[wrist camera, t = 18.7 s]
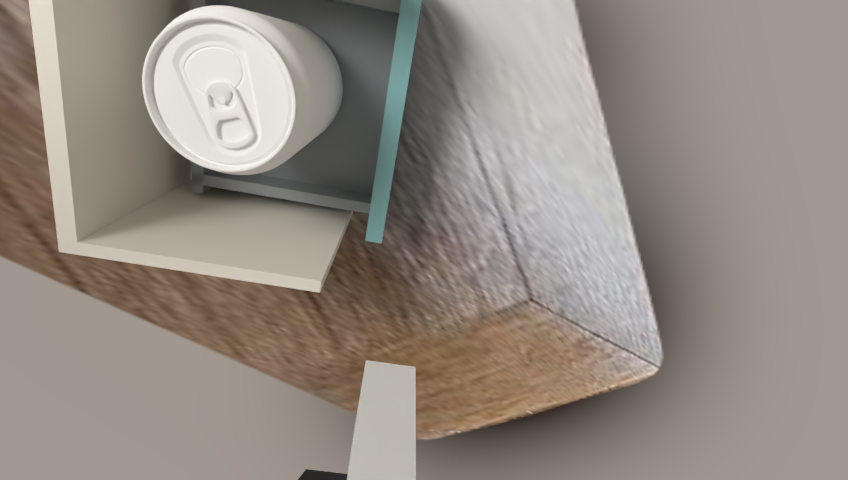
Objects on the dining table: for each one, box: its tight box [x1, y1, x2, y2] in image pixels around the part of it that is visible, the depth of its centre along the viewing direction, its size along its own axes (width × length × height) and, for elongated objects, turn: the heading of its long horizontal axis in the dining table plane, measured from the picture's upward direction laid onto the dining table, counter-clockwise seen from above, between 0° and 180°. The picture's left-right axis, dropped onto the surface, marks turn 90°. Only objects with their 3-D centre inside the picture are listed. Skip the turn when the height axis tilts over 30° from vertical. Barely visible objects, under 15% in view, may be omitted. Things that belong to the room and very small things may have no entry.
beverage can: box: [142, 5, 343, 175], centre depth 27 cm, size 8×8×12 cm
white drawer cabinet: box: [29, 0, 353, 293], centre depth 28 cm, size 14×18×14 cm
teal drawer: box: [191, 0, 422, 244], centre depth 32 cm, size 14×18×5 cm
